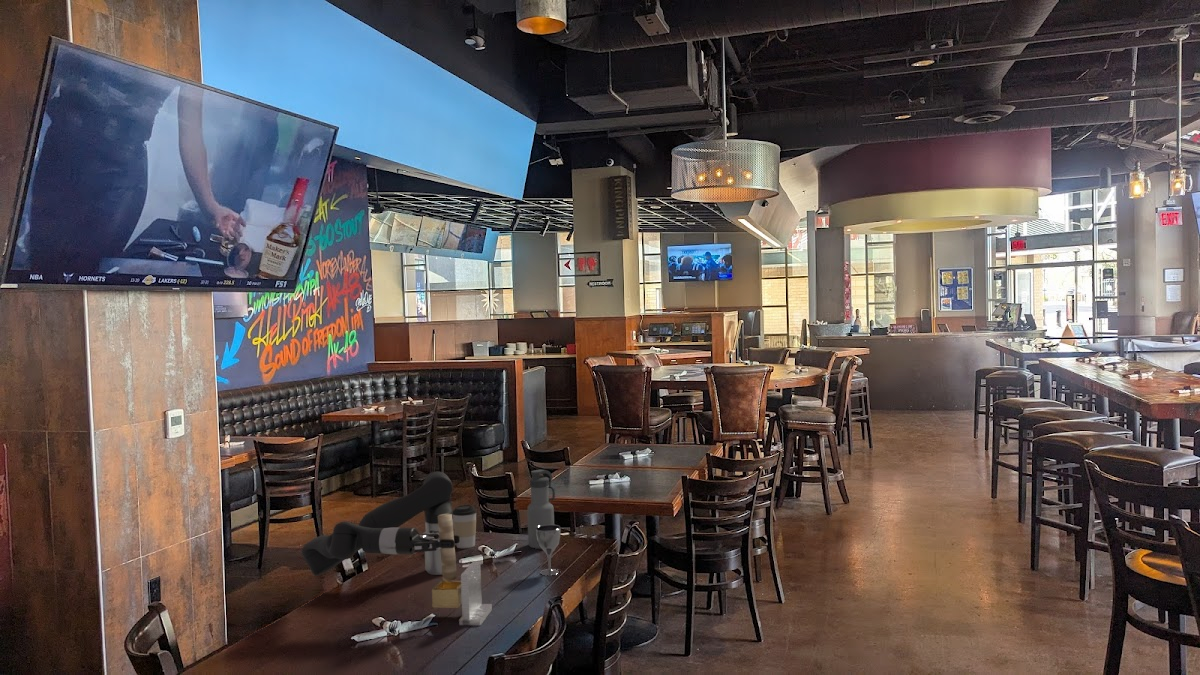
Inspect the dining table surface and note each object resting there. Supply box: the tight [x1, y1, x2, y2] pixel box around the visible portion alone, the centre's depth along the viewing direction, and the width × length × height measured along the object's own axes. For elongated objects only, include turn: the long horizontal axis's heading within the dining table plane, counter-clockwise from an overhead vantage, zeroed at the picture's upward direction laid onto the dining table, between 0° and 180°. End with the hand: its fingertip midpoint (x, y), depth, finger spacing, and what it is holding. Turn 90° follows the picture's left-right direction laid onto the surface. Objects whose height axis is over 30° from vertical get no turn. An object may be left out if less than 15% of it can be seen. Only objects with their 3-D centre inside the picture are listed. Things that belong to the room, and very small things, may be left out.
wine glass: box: [536, 524, 561, 577], centre depth 255 cm, size 8×8×15 cm
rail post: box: [438, 514, 458, 581], centre depth 219 cm, size 4×4×18 cm
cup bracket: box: [431, 560, 493, 626], centre depth 219 cm, size 14×12×14 cm
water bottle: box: [526, 469, 556, 550], centre depth 286 cm, size 10×10×28 cm
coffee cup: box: [452, 504, 478, 549], centre depth 290 cm, size 9×9×15 cm
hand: (456, 541), depth 219 cm, fingers closed on rail post, 4 cm apart
